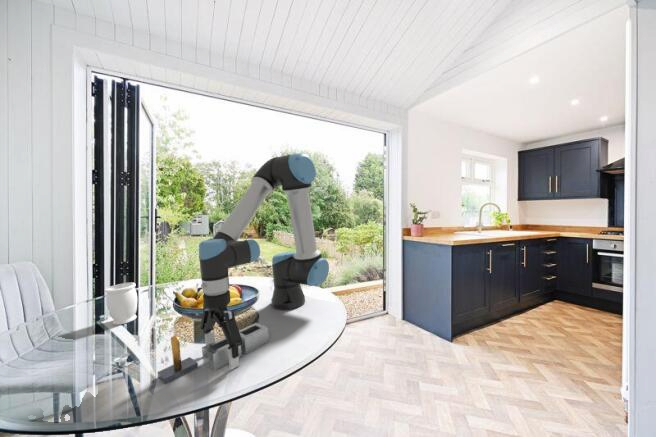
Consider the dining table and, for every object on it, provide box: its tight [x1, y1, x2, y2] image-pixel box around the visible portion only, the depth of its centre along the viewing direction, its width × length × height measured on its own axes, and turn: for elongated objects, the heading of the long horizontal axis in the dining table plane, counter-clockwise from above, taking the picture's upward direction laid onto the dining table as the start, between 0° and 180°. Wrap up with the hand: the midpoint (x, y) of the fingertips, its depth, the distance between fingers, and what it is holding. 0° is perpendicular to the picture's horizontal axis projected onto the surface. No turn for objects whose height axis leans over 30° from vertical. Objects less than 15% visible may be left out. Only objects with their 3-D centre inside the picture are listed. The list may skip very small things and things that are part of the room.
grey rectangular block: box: [201, 336, 243, 372], centre depth 87 cm, size 9×6×5 cm
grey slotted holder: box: [239, 322, 270, 355], centre depth 95 cm, size 9×6×5 cm
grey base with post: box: [156, 335, 199, 385], centre depth 82 cm, size 9×5×10 cm, turn 140°
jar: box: [104, 282, 138, 326], centre depth 121 cm, size 11×10×15 cm
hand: (222, 359), depth 88 cm, fingers open, 13 cm apart
